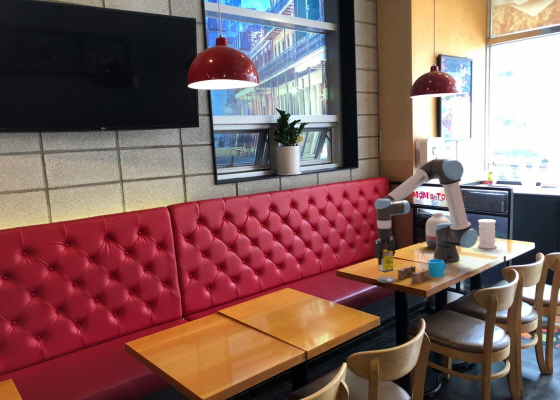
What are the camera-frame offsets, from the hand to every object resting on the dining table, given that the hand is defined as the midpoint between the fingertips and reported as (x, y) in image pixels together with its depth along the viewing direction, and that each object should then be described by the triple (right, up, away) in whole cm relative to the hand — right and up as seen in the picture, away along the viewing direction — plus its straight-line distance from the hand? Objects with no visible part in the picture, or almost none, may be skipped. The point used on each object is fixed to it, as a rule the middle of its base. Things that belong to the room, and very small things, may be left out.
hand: (385, 268), depth 242 cm
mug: (+30, -4, +5) cm, 31 cm away
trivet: (0, -6, +1) cm, 6 cm away
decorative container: (+83, +6, +59) cm, 102 cm away
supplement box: (0, -1, 0) cm, 1 cm away
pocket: (+15, -5, 0) cm, 16 cm away
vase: (+53, +5, +66) cm, 85 cm away
